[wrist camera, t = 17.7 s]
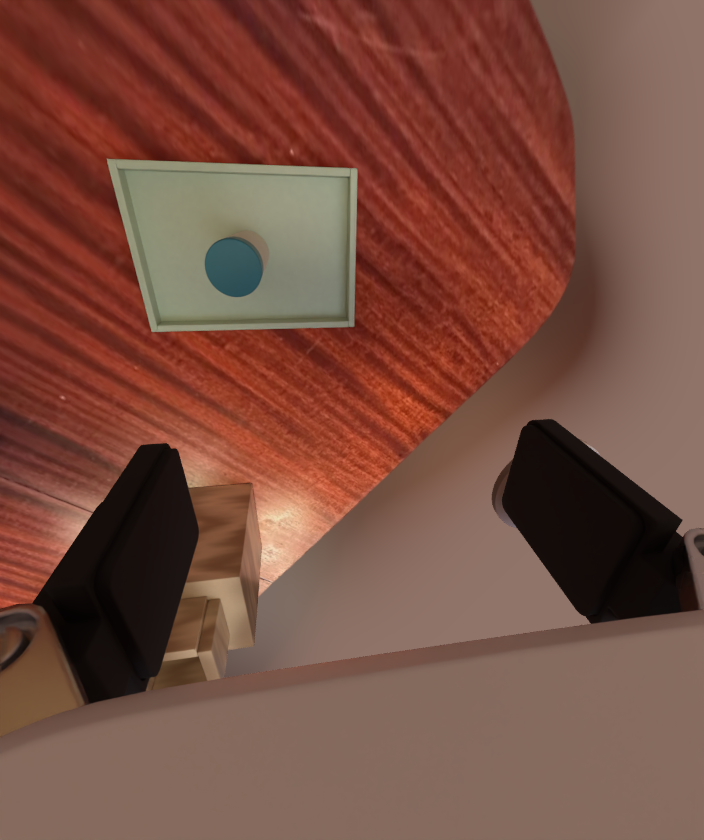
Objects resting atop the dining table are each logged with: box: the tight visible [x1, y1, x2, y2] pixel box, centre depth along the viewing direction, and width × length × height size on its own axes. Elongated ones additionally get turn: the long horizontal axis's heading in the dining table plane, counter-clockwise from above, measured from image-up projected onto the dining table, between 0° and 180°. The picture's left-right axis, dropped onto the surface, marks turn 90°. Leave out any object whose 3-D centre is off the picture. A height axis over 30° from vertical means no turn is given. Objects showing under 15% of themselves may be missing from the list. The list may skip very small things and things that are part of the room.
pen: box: [205, 231, 269, 297], centre depth 28 cm, size 4×4×11 cm
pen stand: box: [146, 483, 262, 691], centre depth 40 cm, size 12×12×19 cm
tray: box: [107, 159, 357, 332], centre depth 33 cm, size 19×13×2 cm
